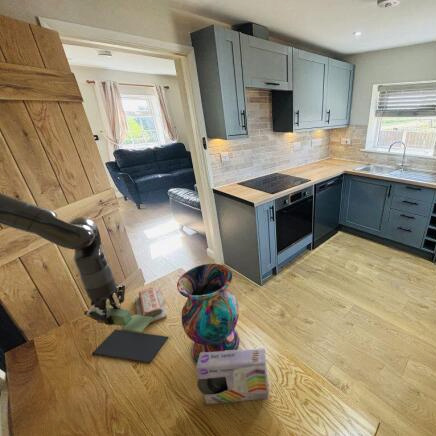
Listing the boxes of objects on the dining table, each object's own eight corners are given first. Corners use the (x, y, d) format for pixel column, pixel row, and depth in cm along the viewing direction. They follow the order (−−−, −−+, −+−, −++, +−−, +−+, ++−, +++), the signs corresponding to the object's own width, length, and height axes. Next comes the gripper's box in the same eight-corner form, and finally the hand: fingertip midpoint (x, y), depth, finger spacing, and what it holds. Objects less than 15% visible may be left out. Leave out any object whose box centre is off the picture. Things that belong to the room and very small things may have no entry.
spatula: (93, 326, 79) (88, 316, 77) (108, 312, 85) (104, 303, 83) (140, 333, 77) (137, 323, 75) (153, 318, 83) (150, 308, 81)
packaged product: (132, 292, 104) (158, 283, 109) (135, 300, 106) (160, 292, 111) (136, 319, 90) (165, 308, 96) (139, 328, 92) (167, 317, 98)
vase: (240, 320, 97) (234, 258, 84) (243, 362, 81) (236, 293, 68) (192, 328, 93) (179, 265, 80) (185, 375, 76) (167, 304, 64)
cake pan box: (201, 406, 68) (191, 366, 61) (206, 388, 73) (197, 349, 66) (268, 402, 70) (266, 362, 62) (268, 384, 74) (267, 345, 67)
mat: (92, 353, 82) (92, 352, 82) (115, 329, 92) (115, 329, 91) (150, 362, 80) (149, 362, 80) (168, 337, 89) (168, 336, 89)
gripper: (106, 265, 81) (120, 303, 88) (65, 293, 68) (86, 336, 75) (126, 267, 80) (139, 306, 87) (88, 296, 67) (107, 339, 74)
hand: (114, 319), depth 81 cm, fingers closed on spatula, 3 cm apart
